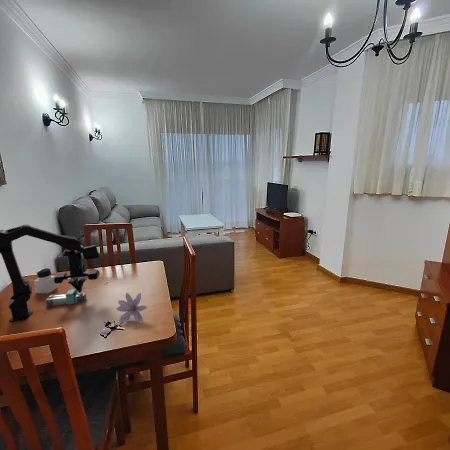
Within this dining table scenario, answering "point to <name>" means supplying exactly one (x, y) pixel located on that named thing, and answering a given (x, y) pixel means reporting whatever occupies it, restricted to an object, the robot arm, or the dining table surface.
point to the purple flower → (131, 308)
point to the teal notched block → (70, 296)
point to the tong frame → (62, 300)
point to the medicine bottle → (45, 281)
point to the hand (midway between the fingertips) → (80, 292)
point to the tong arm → (58, 296)
